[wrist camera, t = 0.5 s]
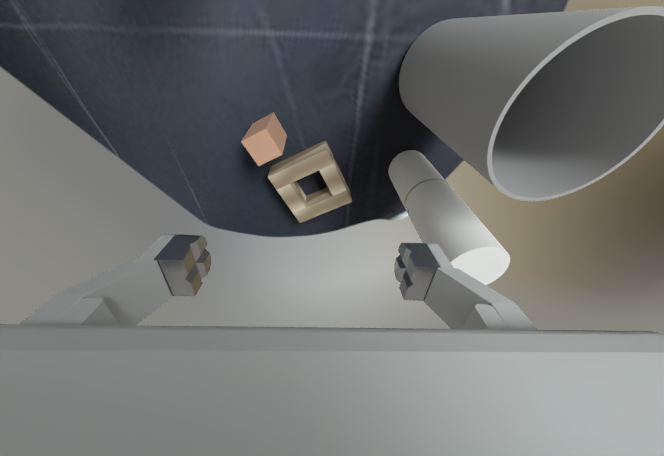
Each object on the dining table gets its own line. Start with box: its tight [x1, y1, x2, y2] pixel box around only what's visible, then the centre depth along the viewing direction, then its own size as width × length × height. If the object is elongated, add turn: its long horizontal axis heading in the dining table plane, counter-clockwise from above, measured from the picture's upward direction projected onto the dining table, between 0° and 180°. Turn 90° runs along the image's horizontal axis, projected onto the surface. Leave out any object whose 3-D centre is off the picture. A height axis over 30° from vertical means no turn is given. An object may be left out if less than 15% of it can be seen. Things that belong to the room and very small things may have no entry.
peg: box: [241, 112, 287, 166], centre depth 37 cm, size 4×4×8 cm
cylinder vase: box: [399, 6, 664, 201], centre depth 27 cm, size 12×12×25 cm
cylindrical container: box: [388, 150, 510, 285], centre depth 36 cm, size 7×7×25 cm
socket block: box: [268, 140, 352, 223], centre depth 45 cm, size 11×11×4 cm
